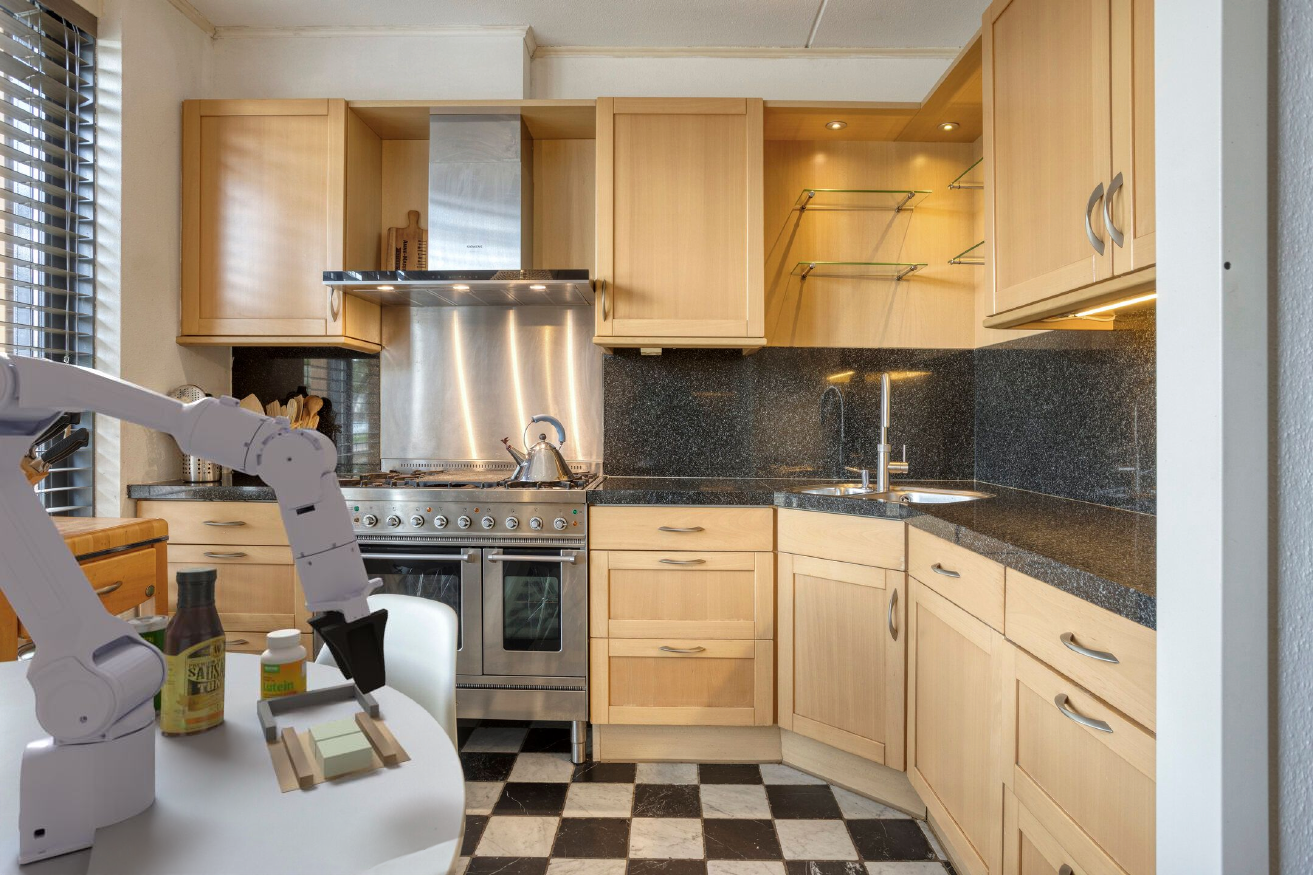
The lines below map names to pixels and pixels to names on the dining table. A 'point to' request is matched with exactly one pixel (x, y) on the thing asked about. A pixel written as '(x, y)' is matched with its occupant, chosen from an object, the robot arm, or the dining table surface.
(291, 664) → the supplement bottle
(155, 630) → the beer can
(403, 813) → the dining table surface
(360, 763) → the tile near
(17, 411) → the robot arm
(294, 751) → the board
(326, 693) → the box
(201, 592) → the sauce bottle
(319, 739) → the tile far
